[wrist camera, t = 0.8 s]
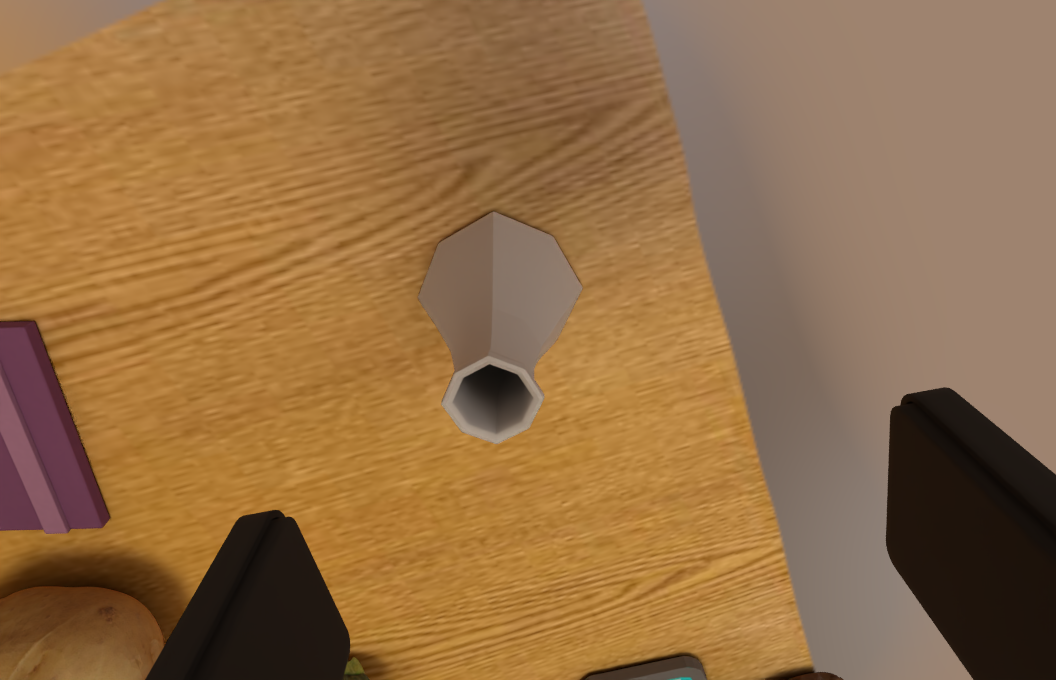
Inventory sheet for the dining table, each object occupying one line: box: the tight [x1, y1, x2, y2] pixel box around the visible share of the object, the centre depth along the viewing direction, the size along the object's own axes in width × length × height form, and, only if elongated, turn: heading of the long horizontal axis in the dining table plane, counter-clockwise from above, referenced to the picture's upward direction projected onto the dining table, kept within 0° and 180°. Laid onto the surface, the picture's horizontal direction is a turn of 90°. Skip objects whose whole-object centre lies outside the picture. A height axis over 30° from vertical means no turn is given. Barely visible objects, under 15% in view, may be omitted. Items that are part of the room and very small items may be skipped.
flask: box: [418, 211, 583, 444], centre depth 26 cm, size 7×7×10 cm
